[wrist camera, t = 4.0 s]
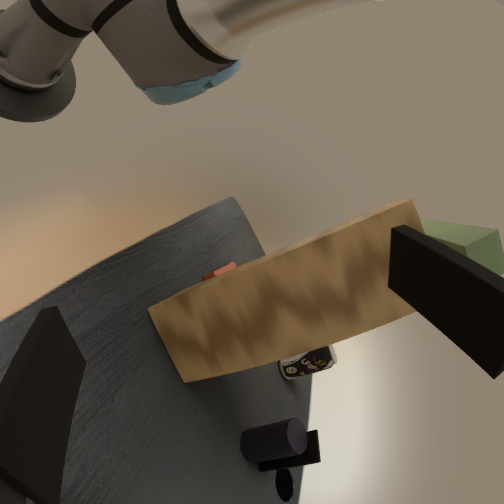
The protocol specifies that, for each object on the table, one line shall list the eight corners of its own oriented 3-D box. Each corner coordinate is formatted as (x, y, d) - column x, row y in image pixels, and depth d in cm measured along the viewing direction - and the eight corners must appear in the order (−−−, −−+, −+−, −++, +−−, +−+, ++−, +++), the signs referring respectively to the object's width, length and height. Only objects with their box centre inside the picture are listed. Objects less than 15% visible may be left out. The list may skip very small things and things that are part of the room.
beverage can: (275, 363, 61) (328, 347, 57) (280, 352, 66) (330, 337, 63) (285, 385, 61) (337, 370, 57) (289, 373, 66) (338, 358, 63)
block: (146, 308, 33) (412, 198, 24) (186, 288, 42) (392, 201, 33) (184, 383, 33) (444, 298, 24) (215, 349, 42) (419, 276, 33)
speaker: (266, 444, 42) (324, 433, 39) (260, 472, 37) (321, 463, 33) (241, 421, 41) (302, 407, 37) (232, 450, 36) (297, 440, 32)
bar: (464, 246, 15) (498, 229, 14) (401, 227, 34) (421, 219, 33) (475, 289, 15) (507, 271, 14) (408, 249, 34) (428, 241, 33)
